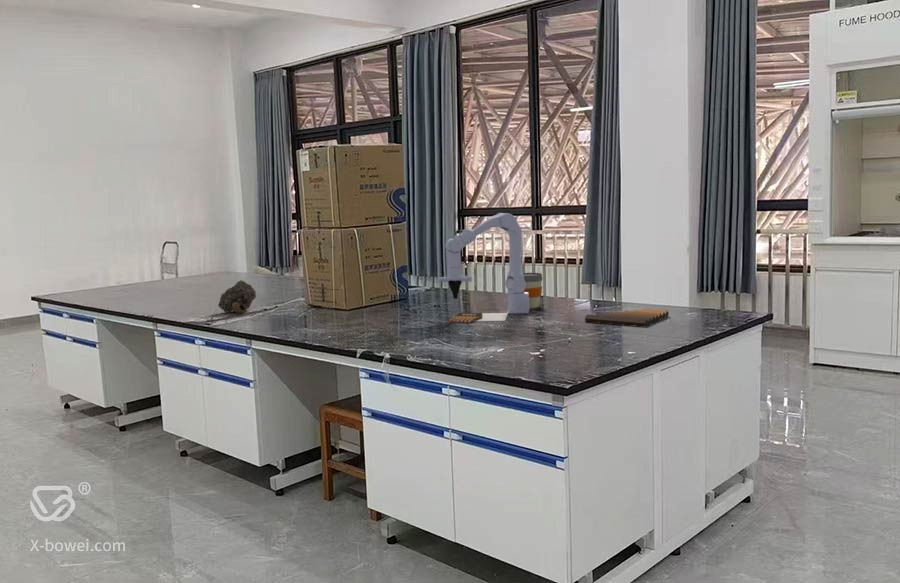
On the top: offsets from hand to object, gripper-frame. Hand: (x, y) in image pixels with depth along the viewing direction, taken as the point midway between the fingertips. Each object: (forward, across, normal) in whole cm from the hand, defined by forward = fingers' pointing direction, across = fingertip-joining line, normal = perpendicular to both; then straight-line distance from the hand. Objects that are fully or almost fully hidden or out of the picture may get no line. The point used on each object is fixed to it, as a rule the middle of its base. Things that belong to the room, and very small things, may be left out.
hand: (455, 298), depth 317 cm
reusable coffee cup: (+9, -30, -27) cm, 41 cm away
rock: (+9, +111, -26) cm, 114 cm away
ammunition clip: (+7, -7, +1) cm, 10 cm away
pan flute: (+9, -71, +9) cm, 72 cm away
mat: (+8, -15, 0) cm, 18 cm away
